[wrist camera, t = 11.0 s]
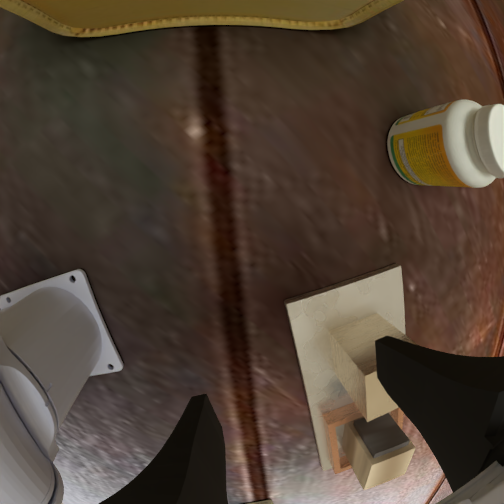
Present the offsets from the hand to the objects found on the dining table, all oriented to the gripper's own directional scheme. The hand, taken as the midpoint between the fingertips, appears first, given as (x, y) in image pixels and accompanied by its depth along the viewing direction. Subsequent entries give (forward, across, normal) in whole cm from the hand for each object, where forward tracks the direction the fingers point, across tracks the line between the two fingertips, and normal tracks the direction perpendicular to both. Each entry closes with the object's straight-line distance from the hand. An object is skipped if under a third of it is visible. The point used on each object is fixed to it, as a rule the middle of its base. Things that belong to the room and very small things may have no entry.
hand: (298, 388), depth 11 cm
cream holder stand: (+9, -6, +10) cm, 15 cm away
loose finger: (+9, -6, +15) cm, 18 cm away
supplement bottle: (+10, -14, -8) cm, 19 cm away
